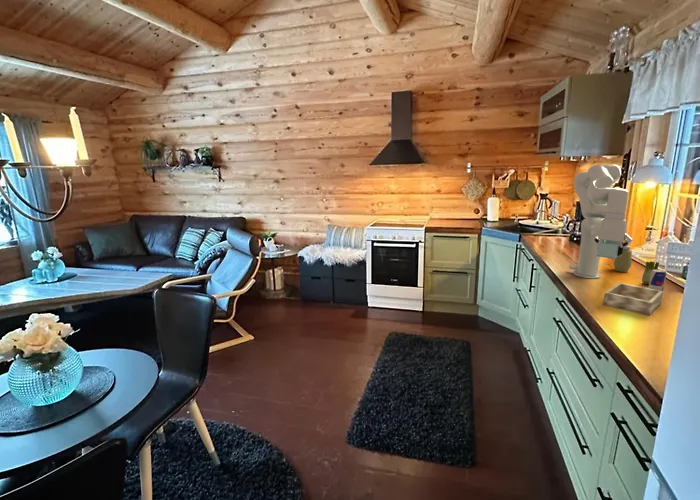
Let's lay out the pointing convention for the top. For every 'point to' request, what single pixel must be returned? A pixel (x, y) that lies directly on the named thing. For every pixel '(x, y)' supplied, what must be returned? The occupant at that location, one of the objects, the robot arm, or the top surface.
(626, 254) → the squeeze bottle
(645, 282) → the fennel bulb
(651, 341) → the top surface
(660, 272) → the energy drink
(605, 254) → the small crate
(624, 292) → the wooden crate
